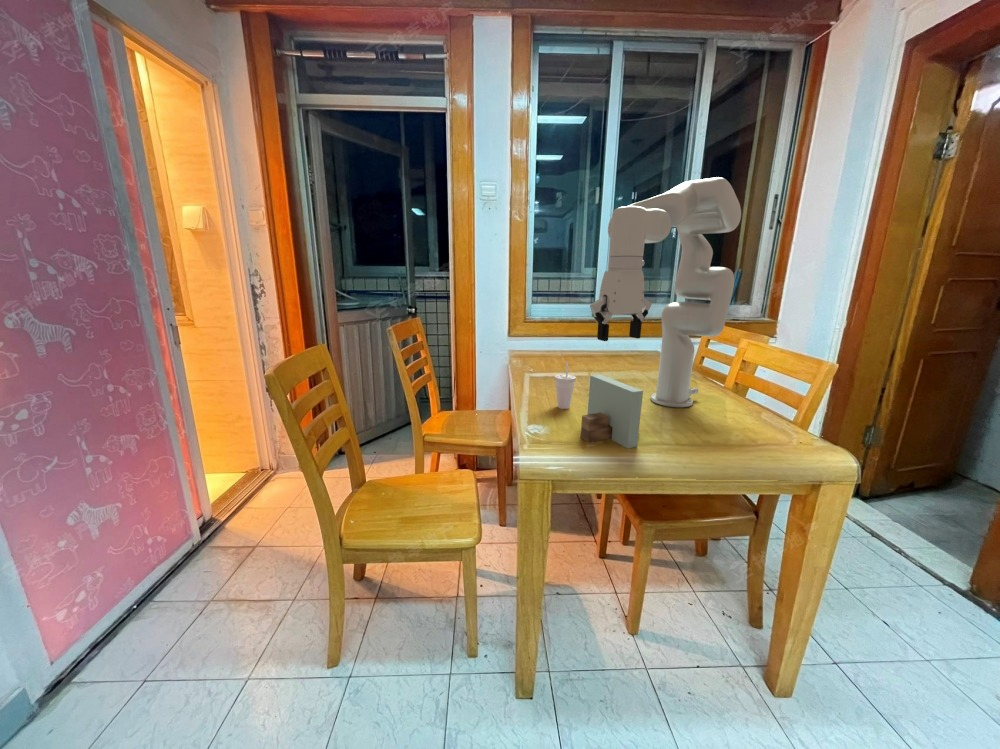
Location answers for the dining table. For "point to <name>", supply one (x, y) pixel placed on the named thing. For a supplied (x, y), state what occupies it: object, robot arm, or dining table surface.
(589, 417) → the brown long block
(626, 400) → the cross plate
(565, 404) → the smoothie
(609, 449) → the dining table surface
